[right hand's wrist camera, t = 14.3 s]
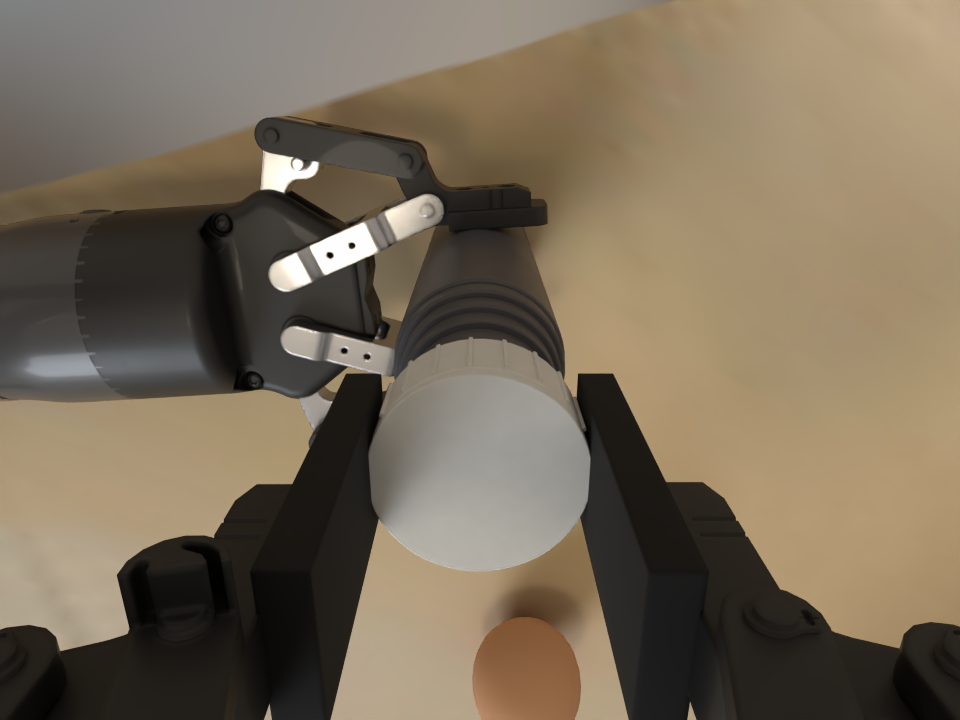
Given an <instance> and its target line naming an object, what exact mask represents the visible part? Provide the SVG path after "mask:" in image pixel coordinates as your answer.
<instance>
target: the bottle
mask: <svg viewBox="0 0 960 720" xmlns="http://www.w3.org/2000/svg"><path fill="white" fill-rule="evenodd" d="M469 337H473V339H492V340H500V341H502V340H503V339H504V340H507V342H508V343H512V344H515V345H517V346H520V347H522V348H525V349H527V350H529V351H531V352H532V353H533V352H534V351H535V352H537V354H538V356H539V357H540V358H542V359H543V360H545V361H546V362H547V363H548V364H549V365H550V366H551V367H552V368H554V369H555V370H556V371H557V372H558V371H560V372H561V374H562V377H563V380H564V376H565V352H564V345H563V340H562V337H561V334H560V331H559V328H558V325H557V322H556V319H555V316H554V313H553V310H552V308H551V305H550V302H549V299H548V296H547V293H546V290H545V287H544V285H543V282H542V279H541V276H540V273H539V270H538V267H537V264H536V262H535V259H534V256H533V253H532V250H531V247H530V244H529V242H528V239H527V236H526V233H525V231H524V229H523V227H513V228H498V229H476V230H468V231H453V232H449V225H443V226H437V227H436V229H435V231H434V233H433V236H432V239H431V242H430V245H429V248H428V251H427V253H426V256H425V259H424V262H423V265H422V268H421V270H420V273H419V276H418V279H417V282H416V285H415V287H414V290H413V293H412V296H411V299H410V302H409V305H408V307H407V310H406V313H405V316H404V319H403V322H402V324H401V327H400V330H399V333H398V336H397V339H396V345H395V350H394V378H395V380H396V378H397V377H398V376H399V375H400V373H401V372H402V371H403V370H404V369H405V368H406V367H407V366H408V362H409V361H410V360H412V361H414V360H416V359H417V358H418V357H419V356H421V355H423V354H424V353H426V352H428V351H430V350H432V349H434V348H436V345H438V344H440V345H444V344H447V343H451V342H455V341H459V340H466V339H469Z"/></svg>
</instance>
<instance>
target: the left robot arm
mask: <svg viewBox="0 0 960 720" xmlns="http://www.w3.org/2000/svg"><path fill="white" fill-rule="evenodd" d="M255 139H256V142H257V144H258V145H259V147H260V148H261V149H262V150H263V160H262V175H261V190H260V191H256V192H254V193H252V194H251V195H249V196H248V197H247V198H245V199H244V200H242V201H241V202H236V203H229V204H214V205H200V206H185V207H170V208H156V209H141V210H126V211H114V212H112V211H110V210H86V211H83V212H81V213H79V214H69V215H57V216H48V217H40V218H35V219H30V220H26V221H21V222H17V223H12V224H7V225H1V226H0V401H12V400H41V401H52V402H95V401H111V400H128V399H146V398H162V397H178V396H195V395H211V394H228V393H240V392H247V391H253V390H270V391H274V392H277V393H280V394H282V395H285V396H287V397H290V398H296V399H299V401H300V403H301V405H302V407H303V410H304V412H305V414H306V416H307V418H308V420H309V422H310V425H311V427H312V429H313V434H312V436H311V438H310V440H309V448H310V447H311V445H312V443H313V441H314V439H315V437H316V435H317V433H318V431H319V429H320V426H321V424H322V422H323V420H324V418H325V416H326V414H327V412H328V410H329V408H330V406H331V404H332V402H333V400H334V398H335V396H336V394H337V393H334V392H331V391H329V390H328V389H326V388H325V385H327V384H328V383H329V382H330V381H331V380H333V379H334V378H335V377H336V376H337V375H339V374H340V373H341V372H342V371H344V370H345V369H346V368H347V367H352V368H355V369H359V370H363V371H367V372H371V373H375V374H381V375H383V376H394V350H395V345H396V339H397V336H398V333H399V330H400V327H401V324H402V322H401V321H398V320H394V319H390V318H386V317H383V316H382V314H381V306H380V301H379V299H378V296H377V294H376V291H375V289H374V286H373V279H374V272H375V258H374V254H376V253H378V252H380V251H382V250H384V249H386V248H388V247H389V246H391V245H393V244H394V243H396V242H399V241H401V240H403V239H406V238H408V237H410V236H412V235H415V234H417V233H419V232H422V231H424V230H426V229H428V228H431V227H433V226H443V225H449V232H453V231H468V230H476V229H498V228H513V227H527V226H540V225H545V224H547V223H548V219H547V204H546V202H545V201H544V200H543V199H531V192H530V190H529V188H527V187H524V186H522V185H519V184H516V183H512V184H500V185H499V184H498V185H483V186H469V187H448V186H445V185H443V184H442V183H441V182H440V181H439V180H438V179H437V178H436V176H435V174H434V172H433V170H432V167H431V165H430V163H429V161H428V158H427V152H426V149H425V147H424V146H423V145H422V144H421V143H419V142H417V141H414V140H409V139H404V138H399V137H394V136H389V135H384V134H378V133H373V132H368V131H363V130H358V129H353V128H348V127H342V126H337V125H332V124H327V123H322V122H317V121H312V120H306V119H301V118H296V117H291V116H285V117H271V118H265V119H263V120H261V121H260V122H259V123H258V124H257V126H256V128H255ZM324 164H329V165H335V166H340V167H345V168H350V169H356V170H361V171H366V172H372V173H377V174H382V175H387V176H393V177H396V178H397V180H398V182H399V185H400V187H401V189H402V191H403V193H404V195H405V197H403V198H401V199H399V200H396V201H394V202H392V203H390V204H387V205H383V206H381V207H378V208H376V209H374V210H372V211H369V212H367V213H365V214H363V215H360V216H358V217H356V218H354V219H351V220H349V221H347V222H345V223H344V222H342V221H341V220H339V219H337V218H336V217H334V216H332V215H331V214H329V213H327V212H326V211H324V210H322V209H321V208H319V207H317V206H316V205H314V204H312V203H311V202H309V201H308V200H306V199H304V198H303V197H301V196H299V195H298V194H296V193H294V192H293V191H291V188H292V185H293V183H294V182H295V181H296V180H297V179H309V178H311V177H313V176H316V175H317V174H319V173H320V172H321V171H322V169H323V166H324ZM378 330H379V331H380V332H378ZM367 354H369V355H367ZM386 392H387V390H386V391H383V392H382V397H383V401H384V398H385V395H386Z"/></svg>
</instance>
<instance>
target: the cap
mask: <svg viewBox="0 0 960 720" xmlns="http://www.w3.org/2000/svg"><path fill="white" fill-rule="evenodd" d="M585 431H587V429H586V426H585V423H584V420H583V417H582V414H581V411H580V408H579V405H578V402H577V399H576V397H572V394H571V392H570V390H569V388H568V387H567V385H566V383H565V382H564V380H563V377H562V374H561V372H560V371H558V372H557V371H556V370H555V369H554V368H552V367H551V366H550V365H549V364H548V363H547V362H546V361H545V360H543V359H542V358H540V357H539V356H538V354H537V352H535V351H534V352H533V353H532V352H531V351H529V350H527V349H525V348H522V347H520V346H517V345H515V344H512V343H508V342H507V340H504V339H503V340H502V341H500V340H492V339H473V337H469V339H466V340H459V341H455V342H451V343H447V344H444V345H440V344H438V345H436V348H434V349H432V350H430V351H428V352H426V353H424V354H423V355H421V356H419V357H418V358H417V359H416V360H414V361H412V360H410V361H409V362H408V366H407V367H406V368H405V369H404V370H403V371H402V372H401V373H400V375H399V376H398V377H397V378H396V380H395V381H394V382H393V384H391V383H390V384H389V386H388V389H387V392H386V395H385V398H384V401H383V404H382V407H381V410H380V413H379V419H378V422H377V425H376V428H375V431H374V434H373V438H372V441H371V444H370V447H369V453H368V454H369V470H370V485H371V500H372V505H373V508H374V510H375V512H376V514H377V515H378V517H379V519H380V521H381V522H382V524H383V525H384V526H385V528H386V529H387V530H388V532H389V533H390V534H391V535H392V536H393V537H394V538H395V539H396V540H397V541H398V542H399V543H401V544H402V545H403V546H404V547H406V548H407V549H408V550H410V551H411V552H413V553H415V554H416V555H418V556H420V557H421V558H424V559H426V560H428V561H430V562H432V563H435V564H438V565H441V566H444V567H448V568H453V569H458V570H466V571H493V570H501V569H506V568H510V567H514V566H517V565H520V564H523V563H526V562H529V561H531V560H533V559H535V558H537V557H539V556H541V555H542V554H544V553H546V552H547V551H549V550H550V549H552V548H553V547H554V546H555V545H557V544H558V543H559V542H560V541H562V540H563V538H564V537H565V536H566V535H567V534H568V533H569V532H570V531H571V530H572V528H573V527H574V526H575V524H576V523H577V522H578V520H579V518H580V516H581V515H582V513H583V511H584V509H585V507H586V504H587V501H588V489H589V475H590V459H591V454H590V450H589V446H588V442H587V439H586V436H585V433H584V432H585Z"/></svg>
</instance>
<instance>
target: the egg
mask: <svg viewBox="0 0 960 720" xmlns="http://www.w3.org/2000/svg"><path fill="white" fill-rule="evenodd" d="M473 693H474V698H475V703H476V707H477V710H478V712H479V714H480V717H481V719H482V720H574V719H575V717H576V714H577V711H578V708H579V703H580V693H581V682H580V672H579V668H578V664H577V661H576V658H575V655H574V652H573V650H572V648H571V646H570V645H569V643H568V642H567V640H566V639H565V638H564V636H563V635H562V634H561V633H560V632H558V631H557V630H556V629H555V628H554V627H552V626H551V625H550V624H548V623H547V622H544V621H542V620H540V619H537V618H532V617H515V618H513V619H510V620H507V621H504V622H502V623H501V624H500V625H498V626H497V627H495V628H494V629H492V631H491V632H490V633H489V634H488V635H487V636H486V637H485V639H484V641H483V642H482V644H481V646H480V648H479V650H478V652H477V655H476V658H475V662H474V666H473Z"/></svg>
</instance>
